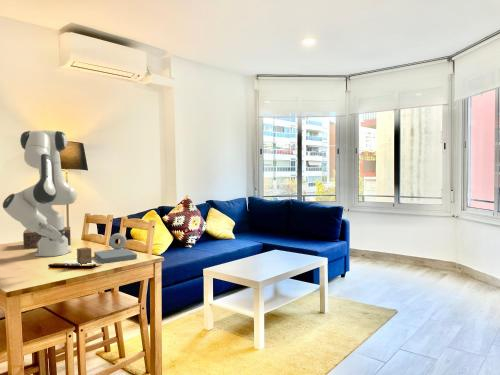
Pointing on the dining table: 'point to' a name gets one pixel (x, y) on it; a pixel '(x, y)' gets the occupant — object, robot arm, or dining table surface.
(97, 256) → the base board
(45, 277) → the dining table surface
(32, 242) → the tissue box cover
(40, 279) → the dining table surface
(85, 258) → the walnut block
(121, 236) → the donut
